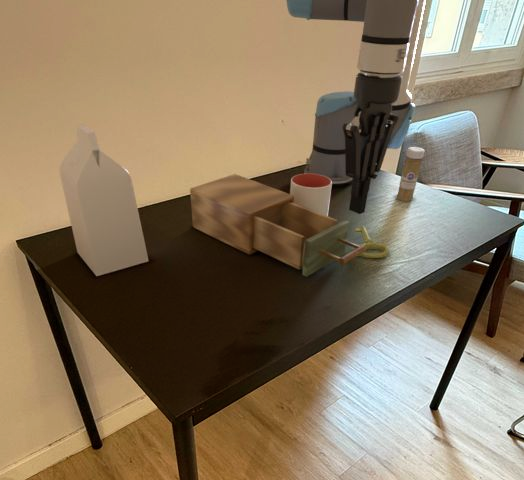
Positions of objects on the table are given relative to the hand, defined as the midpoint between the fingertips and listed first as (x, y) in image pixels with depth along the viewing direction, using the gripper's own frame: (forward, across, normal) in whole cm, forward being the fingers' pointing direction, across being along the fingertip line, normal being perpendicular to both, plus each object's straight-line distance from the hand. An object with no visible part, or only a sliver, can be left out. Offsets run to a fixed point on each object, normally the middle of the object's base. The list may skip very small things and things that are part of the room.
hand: (356, 210), depth 89 cm
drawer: (+12, -5, +8) cm, 15 cm away
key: (+13, +11, +3) cm, 18 cm away
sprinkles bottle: (+13, +43, +16) cm, 48 cm away
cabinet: (+13, -7, +28) cm, 32 cm away
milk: (+13, -37, +36) cm, 53 cm away
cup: (+13, +11, +23) cm, 28 cm away
